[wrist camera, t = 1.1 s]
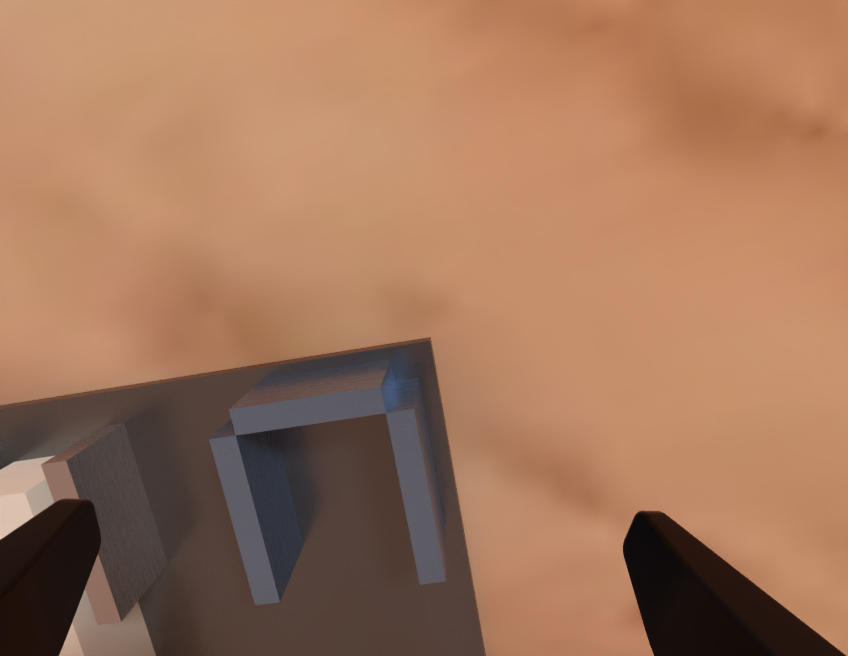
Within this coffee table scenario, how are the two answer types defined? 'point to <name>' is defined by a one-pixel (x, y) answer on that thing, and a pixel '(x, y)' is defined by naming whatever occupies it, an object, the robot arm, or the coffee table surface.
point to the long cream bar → (86, 641)
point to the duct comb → (269, 505)
